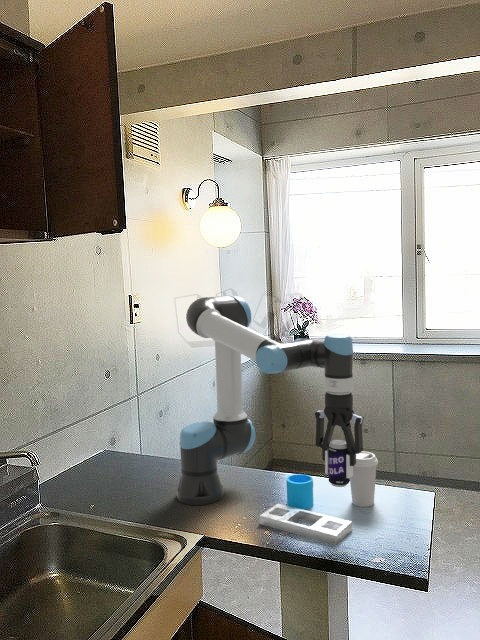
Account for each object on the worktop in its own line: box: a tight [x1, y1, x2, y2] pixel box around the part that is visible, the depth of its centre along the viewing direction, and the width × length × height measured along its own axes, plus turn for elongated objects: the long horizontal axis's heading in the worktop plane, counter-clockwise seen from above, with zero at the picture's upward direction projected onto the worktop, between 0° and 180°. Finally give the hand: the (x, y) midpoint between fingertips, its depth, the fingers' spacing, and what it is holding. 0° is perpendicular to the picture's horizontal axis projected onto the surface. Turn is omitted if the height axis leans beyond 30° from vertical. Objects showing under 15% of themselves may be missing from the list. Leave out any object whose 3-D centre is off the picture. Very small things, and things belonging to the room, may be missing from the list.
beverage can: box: [328, 438, 350, 488], centre depth 154 cm, size 6×6×12 cm
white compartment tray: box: [259, 503, 353, 546], centre depth 158 cm, size 24×10×3 cm, turn 54°
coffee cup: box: [349, 450, 379, 508], centre depth 173 cm, size 10×10×15 cm
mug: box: [285, 473, 314, 510], centre depth 175 cm, size 12×8×8 cm
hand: (339, 474), depth 154 cm, fingers closed on beverage can, 6 cm apart
